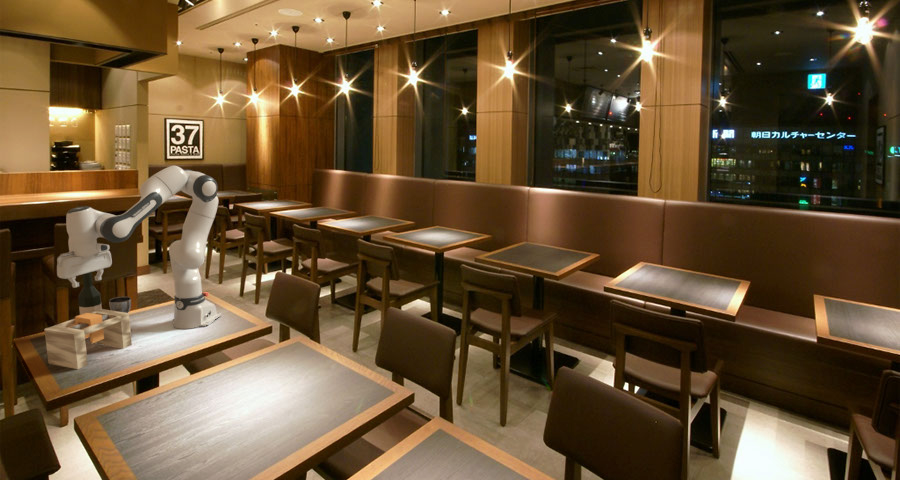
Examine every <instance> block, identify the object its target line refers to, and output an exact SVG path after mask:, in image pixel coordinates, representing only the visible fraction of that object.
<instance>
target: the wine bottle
mask: <svg viewBox="0 0 900 480" xmlns="http://www.w3.org/2000/svg"><path fill="white" fill-rule="evenodd" d="M82 282H83V287H82V289H81V290H80V292H79V294H78V296H77V297H78V298H77V299H78V308H79V315H81V314H84V313H92V312H95V311H97V310H100V309H103V308H102V300H101V292H100V291H99V290H98V289H96V287H95V286H94V285H93V273H92V272H89V273H85V274H82Z"/></svg>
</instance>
